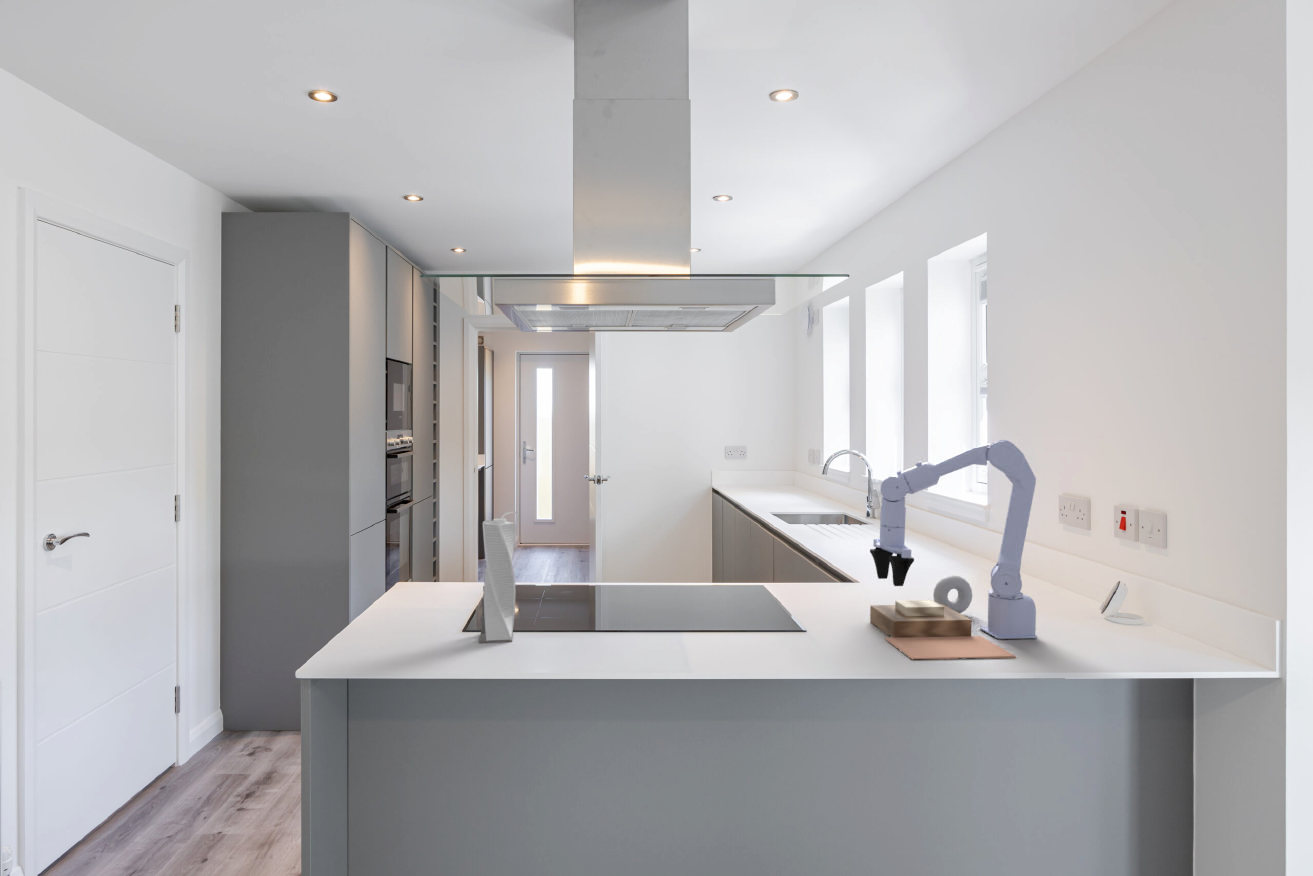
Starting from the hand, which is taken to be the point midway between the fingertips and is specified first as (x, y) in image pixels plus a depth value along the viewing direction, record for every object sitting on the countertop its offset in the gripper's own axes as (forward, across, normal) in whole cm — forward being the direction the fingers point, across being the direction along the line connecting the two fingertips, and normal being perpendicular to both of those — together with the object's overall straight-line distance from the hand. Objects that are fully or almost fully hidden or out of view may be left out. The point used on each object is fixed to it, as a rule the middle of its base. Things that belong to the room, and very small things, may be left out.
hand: (890, 582), depth 181 cm
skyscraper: (+12, -2, -92) cm, 93 cm away
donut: (+9, -3, +19) cm, 21 cm away
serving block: (+9, +8, +3) cm, 13 cm away
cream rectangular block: (+5, +8, +3) cm, 10 cm away
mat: (+9, +22, +2) cm, 24 cm away
